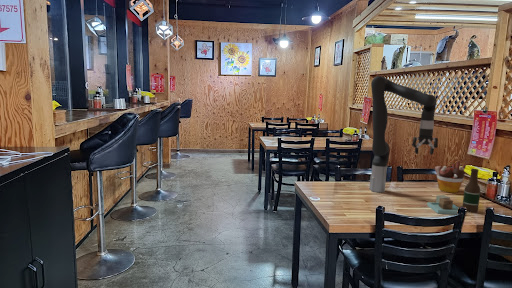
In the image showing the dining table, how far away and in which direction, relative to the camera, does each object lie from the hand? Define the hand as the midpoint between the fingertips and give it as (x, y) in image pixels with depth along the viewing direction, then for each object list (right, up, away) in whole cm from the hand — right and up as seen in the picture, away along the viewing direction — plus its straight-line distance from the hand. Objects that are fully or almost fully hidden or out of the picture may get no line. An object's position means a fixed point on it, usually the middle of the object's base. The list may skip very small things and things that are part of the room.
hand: (423, 154), depth 213 cm
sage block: (+8, -30, -7) cm, 31 cm away
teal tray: (+4, -31, -17) cm, 36 cm away
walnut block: (+4, -30, -17) cm, 35 cm away
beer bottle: (+18, -32, -17) cm, 40 cm away
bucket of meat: (+29, -26, +24) cm, 45 cm away
